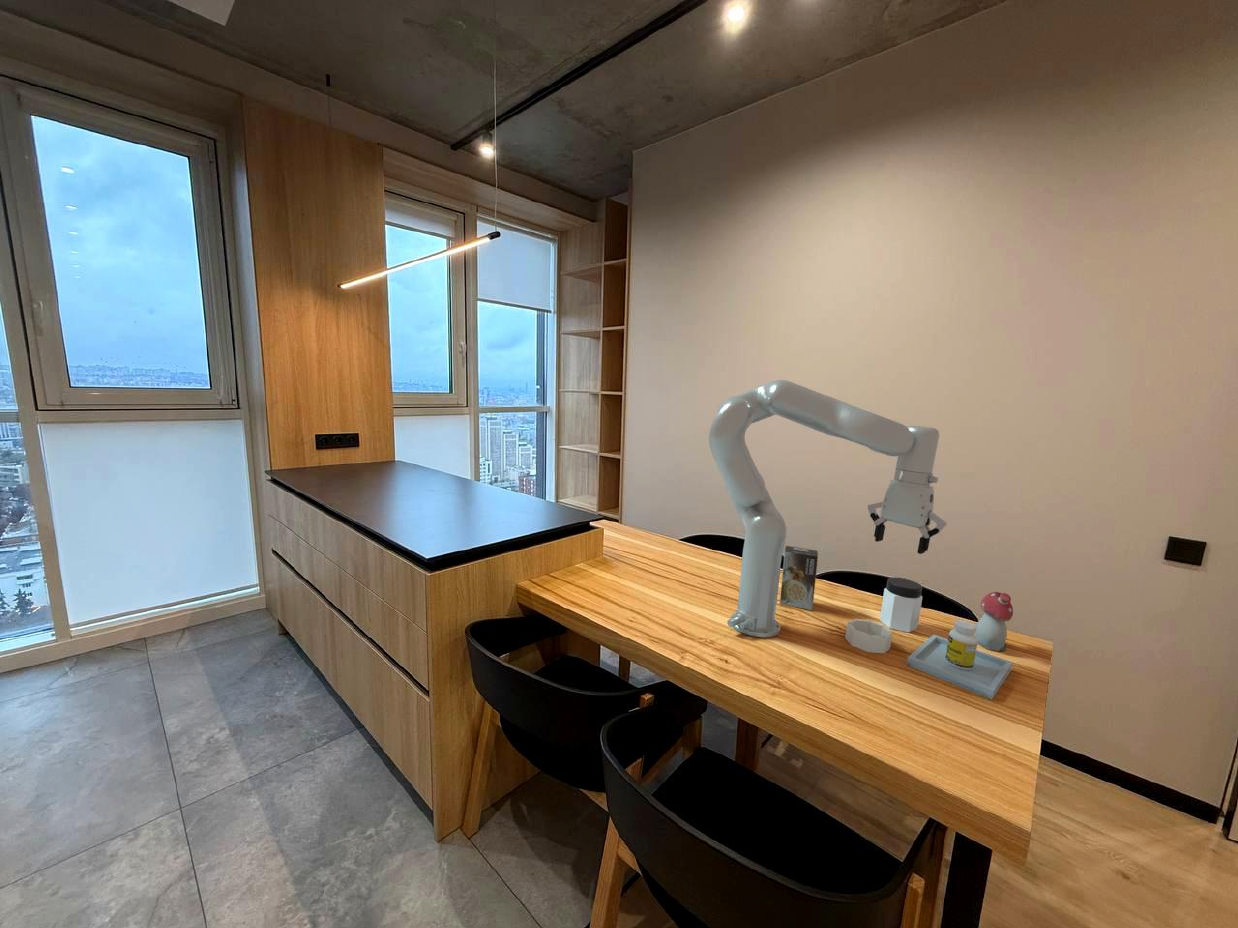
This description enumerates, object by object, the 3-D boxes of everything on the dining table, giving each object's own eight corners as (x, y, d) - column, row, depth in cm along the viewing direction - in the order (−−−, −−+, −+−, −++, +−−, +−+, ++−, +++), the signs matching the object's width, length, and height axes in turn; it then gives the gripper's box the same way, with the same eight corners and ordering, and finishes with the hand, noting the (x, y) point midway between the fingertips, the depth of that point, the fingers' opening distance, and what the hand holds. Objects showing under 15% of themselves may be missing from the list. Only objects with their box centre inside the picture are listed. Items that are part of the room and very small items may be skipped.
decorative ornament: (1006, 657, 119) (1017, 598, 117) (973, 647, 123) (983, 590, 121) (1005, 642, 127) (1015, 587, 124) (974, 634, 130) (983, 580, 128)
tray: (992, 699, 101) (993, 690, 101) (907, 664, 113) (908, 656, 113) (1010, 670, 113) (1012, 662, 113) (932, 641, 125) (933, 634, 124)
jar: (905, 635, 128) (912, 591, 126) (874, 622, 134) (880, 580, 132) (922, 627, 132) (929, 585, 131) (892, 615, 139) (898, 575, 137)
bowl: (879, 656, 116) (881, 641, 115) (840, 640, 122) (842, 625, 122) (894, 645, 122) (896, 630, 121) (856, 630, 129) (858, 616, 128)
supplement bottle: (939, 657, 115) (945, 618, 114) (960, 657, 116) (967, 618, 114) (956, 671, 110) (963, 630, 108) (979, 670, 110) (986, 630, 109)
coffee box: (812, 602, 145) (819, 550, 143) (812, 611, 139) (819, 556, 137) (780, 596, 148) (785, 544, 146) (778, 604, 142) (784, 550, 140)
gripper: (959, 484, 113) (944, 555, 116) (881, 470, 126) (869, 534, 129) (948, 486, 108) (933, 560, 111) (868, 471, 121) (856, 538, 124)
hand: (899, 546), depth 120 cm, fingers open, 9 cm apart
